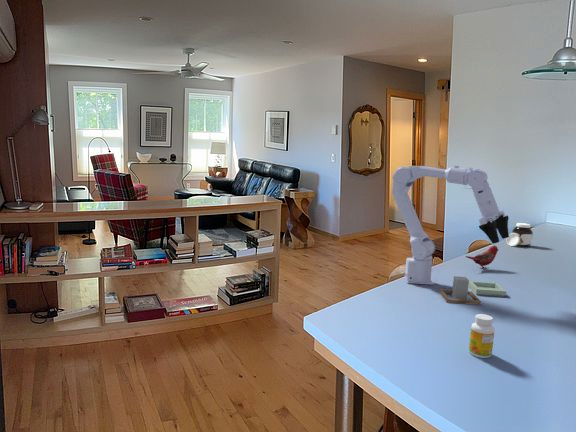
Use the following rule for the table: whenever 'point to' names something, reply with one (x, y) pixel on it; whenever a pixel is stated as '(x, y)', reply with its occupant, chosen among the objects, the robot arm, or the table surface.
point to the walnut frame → (474, 301)
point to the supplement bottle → (482, 336)
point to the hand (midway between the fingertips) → (501, 240)
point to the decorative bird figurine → (485, 257)
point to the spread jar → (520, 235)
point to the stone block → (460, 288)
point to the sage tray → (487, 288)
